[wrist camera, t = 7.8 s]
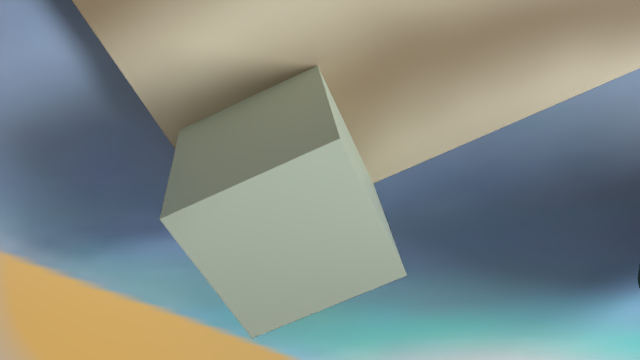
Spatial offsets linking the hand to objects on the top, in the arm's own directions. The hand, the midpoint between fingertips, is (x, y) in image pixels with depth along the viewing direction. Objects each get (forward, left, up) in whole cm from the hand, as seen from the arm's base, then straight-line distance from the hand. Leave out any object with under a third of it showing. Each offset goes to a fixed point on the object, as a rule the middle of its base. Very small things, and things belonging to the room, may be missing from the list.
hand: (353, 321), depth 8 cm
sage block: (-3, +2, -11) cm, 11 cm away
